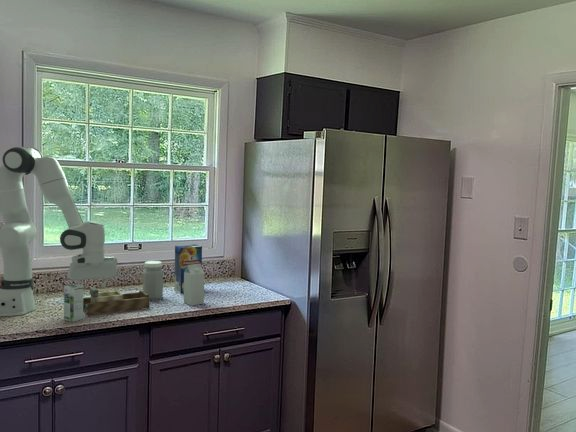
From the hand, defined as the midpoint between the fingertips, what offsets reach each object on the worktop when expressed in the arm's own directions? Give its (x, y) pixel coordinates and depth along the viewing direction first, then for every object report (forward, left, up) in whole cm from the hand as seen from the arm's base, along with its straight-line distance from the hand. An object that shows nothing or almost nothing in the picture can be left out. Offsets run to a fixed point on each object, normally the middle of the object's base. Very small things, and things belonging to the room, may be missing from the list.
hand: (92, 288), depth 232 cm
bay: (+10, 0, -10) cm, 14 cm away
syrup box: (-10, -9, -11) cm, 17 cm away
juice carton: (+52, +17, -11) cm, 56 cm away
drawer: (+6, 0, -9) cm, 11 cm away
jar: (+31, +11, -11) cm, 35 cm away
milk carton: (+45, -7, -11) cm, 47 cm away
